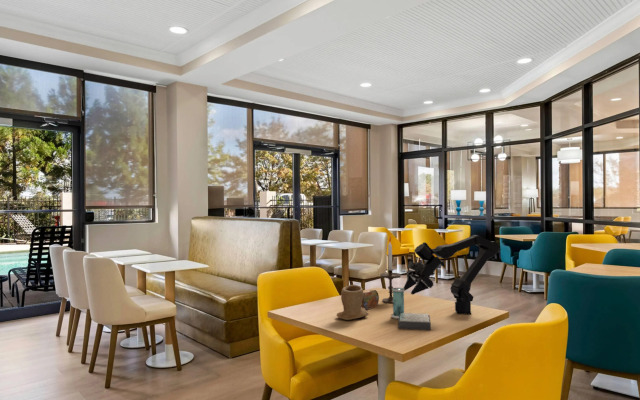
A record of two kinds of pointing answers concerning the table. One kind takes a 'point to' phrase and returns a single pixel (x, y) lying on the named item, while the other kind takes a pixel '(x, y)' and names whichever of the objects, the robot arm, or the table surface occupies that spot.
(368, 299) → the tin
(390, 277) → the candlestick
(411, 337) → the table surface
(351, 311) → the stone cup
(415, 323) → the stand
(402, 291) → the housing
